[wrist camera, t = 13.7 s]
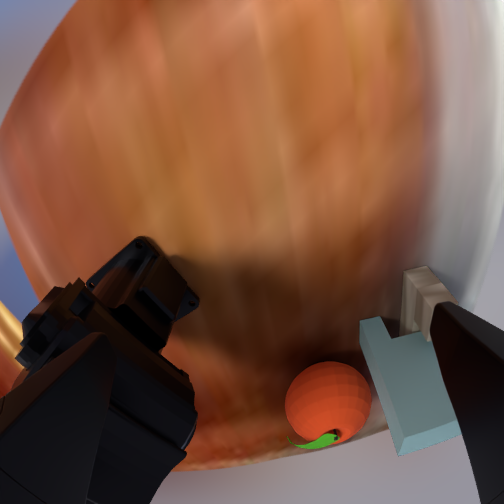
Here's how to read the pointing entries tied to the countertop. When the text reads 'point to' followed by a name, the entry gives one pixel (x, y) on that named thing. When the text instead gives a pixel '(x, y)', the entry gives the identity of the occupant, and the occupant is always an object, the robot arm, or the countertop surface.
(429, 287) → the birch slotted plate
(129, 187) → the countertop surface
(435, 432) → the teal slotted plate
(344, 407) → the clementine
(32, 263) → the countertop surface
